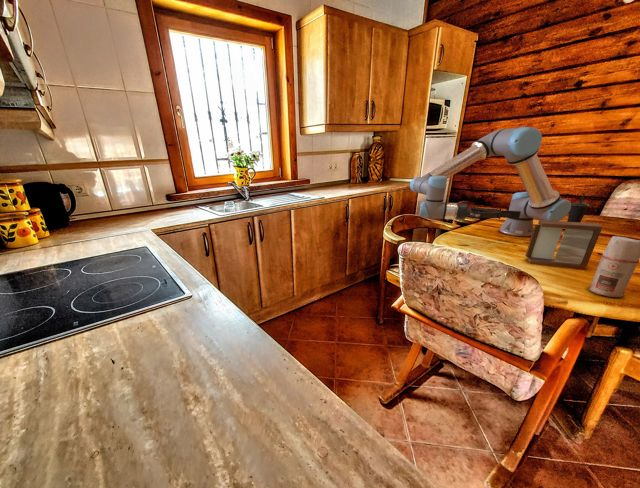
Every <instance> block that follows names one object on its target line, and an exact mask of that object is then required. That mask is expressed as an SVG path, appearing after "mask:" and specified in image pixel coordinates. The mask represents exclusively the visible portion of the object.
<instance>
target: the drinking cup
mask: <svg viewBox="0 0 640 488" xmlns="http://www.w3.org/2000/svg"><path fill="white" fill-rule="evenodd" d="M585 194H586V192H583V193H582V195H581V198H580V201H576V202H573V203H572V202H571V209H570V211H569V213H568V215H567V221H566V222H579V223H582V220H583V218H584V216H585V214H586V212H587V210H588V208H589V207H590V204H588V203H587V202H583V201H584V198H585Z"/></svg>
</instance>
